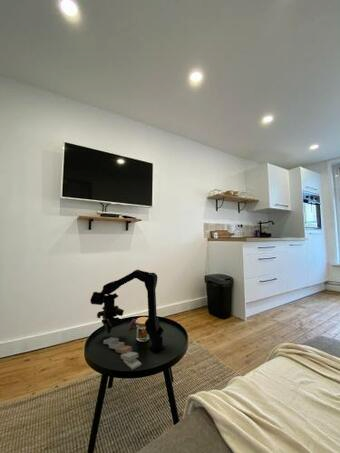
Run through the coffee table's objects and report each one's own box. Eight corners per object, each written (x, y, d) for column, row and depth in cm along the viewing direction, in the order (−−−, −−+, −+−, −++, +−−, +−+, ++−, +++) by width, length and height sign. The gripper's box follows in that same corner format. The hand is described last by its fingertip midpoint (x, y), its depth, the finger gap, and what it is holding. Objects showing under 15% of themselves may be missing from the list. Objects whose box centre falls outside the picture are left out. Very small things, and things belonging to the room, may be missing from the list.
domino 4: (129, 354, 103) (138, 356, 98) (121, 358, 100) (129, 361, 95) (128, 351, 104) (138, 353, 98) (120, 354, 100) (129, 357, 95)
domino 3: (123, 348, 109) (132, 349, 104) (115, 352, 106) (124, 353, 101) (122, 345, 110) (132, 346, 105) (115, 348, 106) (124, 350, 101)
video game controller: (144, 332, 131) (146, 320, 134) (141, 331, 127) (143, 319, 131) (130, 330, 134) (132, 318, 137) (127, 329, 130) (129, 317, 133)
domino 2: (116, 344, 113) (124, 345, 108) (108, 347, 110) (116, 349, 104) (116, 341, 113) (124, 342, 108) (108, 344, 110) (116, 345, 105)
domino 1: (111, 340, 117) (118, 341, 112) (103, 343, 114) (111, 344, 109) (111, 337, 118) (118, 338, 112) (103, 340, 114) (110, 341, 109)
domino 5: (132, 358, 101) (141, 366, 95) (123, 362, 98) (132, 371, 92) (132, 355, 101) (141, 363, 95) (123, 359, 98) (132, 367, 92)
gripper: (130, 306, 115) (130, 334, 114) (114, 298, 128) (113, 323, 127) (112, 311, 107) (111, 341, 106) (96, 302, 120) (96, 329, 120)
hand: (108, 333), depth 115 cm, fingers closed
